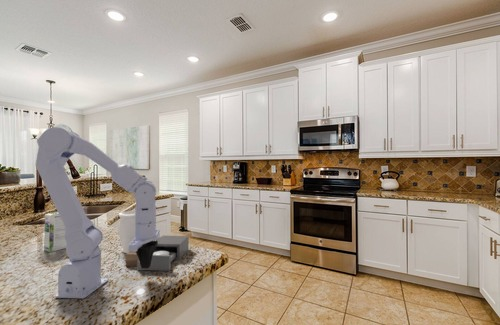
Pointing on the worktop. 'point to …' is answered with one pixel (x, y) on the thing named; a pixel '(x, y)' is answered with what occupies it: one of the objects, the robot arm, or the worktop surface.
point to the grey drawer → (159, 262)
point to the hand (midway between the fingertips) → (145, 267)
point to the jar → (126, 229)
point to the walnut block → (131, 259)
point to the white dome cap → (161, 253)
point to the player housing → (173, 245)
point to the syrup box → (54, 232)
